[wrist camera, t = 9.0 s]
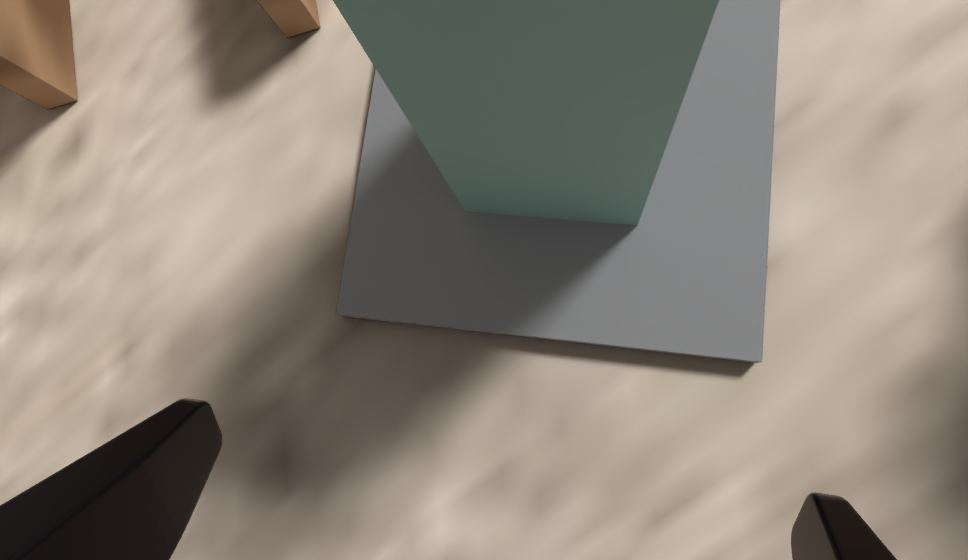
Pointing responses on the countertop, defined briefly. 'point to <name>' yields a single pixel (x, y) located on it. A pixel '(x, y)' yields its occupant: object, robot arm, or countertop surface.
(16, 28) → the chute
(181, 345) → the countertop surface
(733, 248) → the mat
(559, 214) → the block
